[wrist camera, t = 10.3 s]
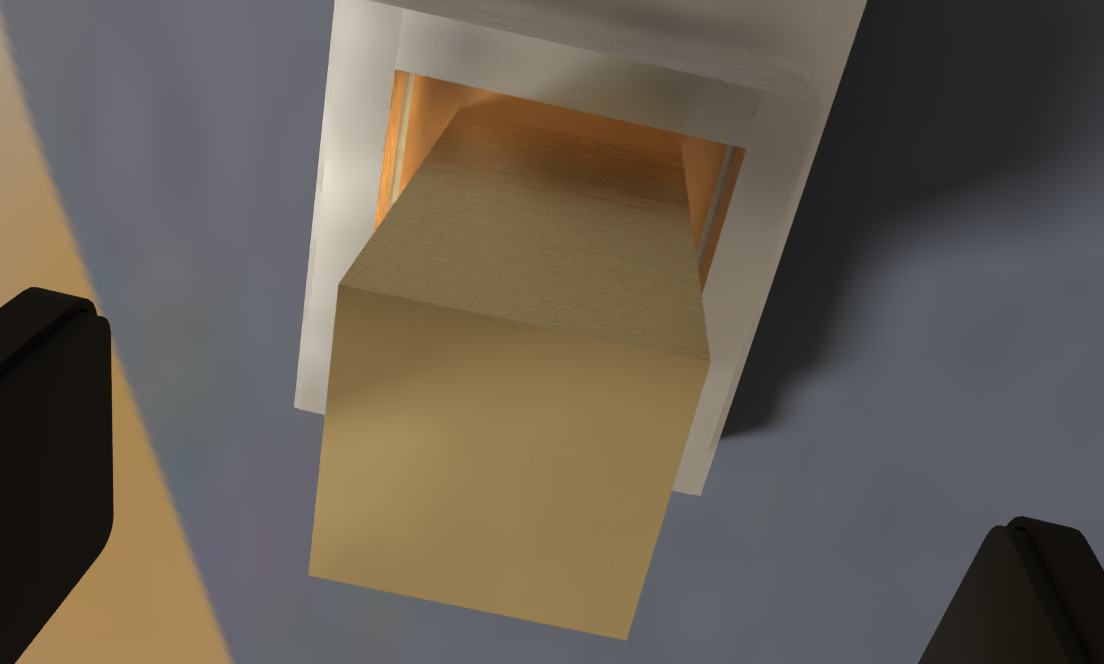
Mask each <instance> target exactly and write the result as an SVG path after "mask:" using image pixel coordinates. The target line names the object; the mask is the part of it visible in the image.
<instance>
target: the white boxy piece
mask: <svg viewBox="0 0 1104 664" xmlns="http://www.w3.org/2000/svg"><path fill="white" fill-rule="evenodd" d="M866 3H867V0H335V5H334V15H333V25H332V35H331V45H330V55H329V65H328V75H327V85H326V95H325V105H324V115H323V125H322V135H321V145H320V155H319V165H318V175H317V185H316V195H315V205H314V215H313V225H312V235H311V245H310V254H309V264H308V274H307V284H306V294H305V304H304V314H303V324H302V334H301V344H300V354H299V364H298V374H297V384H296V394H295V404H294V408H299V409H301V410H306V411H310V412H315V413H319V414H324V415H325V410H326V400H327V390H328V380H329V371H330V361H331V351H332V341H333V332H334V322H335V312H336V302H337V293H338V284H339V283H340V281H341V280H342V278H343V277H344V275H345V274H346V272H347V271H348V269H349V268H350V267H351V265H352V264H353V262H354V261H355V259H356V258H357V256H358V255H359V253H360V252H361V251H362V249H363V248H364V246H365V245H366V243H367V242H368V240H369V239H370V237H371V236H372V235H373V233H374V232H375V230H376V229H377V227H378V226H379V224H380V223H381V221H382V220H383V219H384V217H385V216H386V214H387V213H388V211H389V210H390V208H391V207H392V205H393V204H394V203H395V201H396V200H397V198H398V197H399V195H400V194H401V192H402V191H403V189H404V188H405V187H406V185H407V184H408V182H409V181H410V179H411V178H412V176H413V175H414V173H415V172H416V171H417V169H418V168H419V166H420V165H421V163H422V162H423V160H424V159H425V157H426V156H427V155H428V153H429V152H430V150H431V149H432V147H433V146H434V144H435V143H436V141H437V140H438V139H439V137H440V136H441V134H442V133H443V131H444V130H445V128H446V127H447V125H448V124H449V123H450V121H451V120H452V118H453V117H454V115H455V114H456V112H457V111H458V110H460V111H465V112H469V113H474V114H479V115H483V116H488V117H493V118H498V119H502V120H507V121H512V122H517V123H521V124H526V125H531V126H535V127H540V128H545V129H550V130H554V131H559V132H564V133H568V134H573V135H578V136H583V137H587V138H592V139H597V140H601V141H606V142H611V143H616V144H620V145H625V146H630V147H635V148H639V149H644V150H649V151H653V152H658V153H663V154H668V155H672V156H677V157H682V158H683V164H684V171H685V178H686V185H687V193H688V200H689V207H690V214H691V222H692V229H693V236H694V243H695V251H696V258H697V265H698V272H699V280H700V287H701V294H702V301H703V309H704V316H705V323H706V330H707V338H708V345H709V352H710V359H711V363H710V366H709V370H708V373H707V376H706V380H705V383H704V386H703V390H702V393H701V396H700V399H699V403H698V406H697V409H696V413H695V416H694V419H693V422H692V426H691V429H690V432H689V436H688V439H687V442H686V446H685V449H684V452H683V455H682V459H681V462H680V465H679V469H678V472H677V475H676V479H675V482H674V485H673V488H672V490H673V491H677V492H682V493H687V494H691V495H698V496H701V493H702V490H703V487H704V484H705V481H706V478H707V475H708V472H709V469H710V466H711V463H712V460H713V457H714V454H715V451H716V448H717V445H718V442H719V439H720V436H721V433H722V430H723V427H724V424H725V421H726V418H727V415H728V412H729V409H730V406H731V404H732V401H733V398H734V395H735V392H736V389H737V386H738V383H739V380H740V377H741V374H742V371H743V368H744V365H745V362H746V359H747V356H748V353H749V350H750V347H751V344H752V341H753V338H754V335H755V332H756V329H757V326H758V323H759V320H760V317H761V314H762V311H763V308H764V306H765V303H766V300H767V297H768V294H769V291H770V288H771V285H772V282H773V279H774V276H775V273H776V270H777V267H778V264H779V261H780V258H781V255H782V252H783V249H784V246H785V243H786V240H787V237H788V234H789V231H790V228H791V225H792V222H793V219H794V216H795V213H796V211H797V208H798V205H799V202H800V199H801V196H802V193H803V190H804V187H805V184H806V181H807V178H808V175H809V172H810V169H811V166H812V163H813V160H814V157H815V154H816V151H817V148H818V145H819V142H820V139H821V136H822V133H823V130H824V127H825V124H826V121H827V118H828V115H829V113H830V110H831V107H832V104H833V101H834V98H835V95H836V92H837V89H838V86H839V83H840V80H841V77H842V74H843V71H844V68H845V65H846V62H847V59H848V56H849V53H850V50H851V47H852V44H853V41H854V38H855V35H856V32H857V29H858V26H859V23H860V20H861V17H862V15H863V12H864V9H865V6H866Z"/></svg>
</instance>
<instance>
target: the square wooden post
mask: <svg viewBox="0 0 1104 664" xmlns="http://www.w3.org/2000/svg"><path fill="white" fill-rule="evenodd" d="M710 363H711V359H710V352H709V345H708V338H707V330H706V323H705V316H704V309H703V301H702V294H701V287H700V280H699V272H698V265H697V258H696V251H695V243H694V236H693V229H692V222H691V214H690V207H689V200H688V193H687V185H686V178H685V171H684V164H683V158H682V157H677V156H672V155H668V154H663V153H658V152H653V151H649V150H644V149H639V148H635V147H630V146H625V145H620V144H616V143H611V142H606V141H601V140H597V139H592V138H587V137H583V136H578V135H573V134H568V133H564V132H559V131H554V130H550V129H545V128H540V127H535V126H531V125H526V124H521V123H517V122H512V121H507V120H502V119H498V118H493V117H488V116H483V115H479V114H474V113H469V112H465V111H460V110H458V111H457V112H456V114H455V115H454V117H453V118H452V120H451V121H450V123H449V124H448V125H447V127H446V128H445V130H444V131H443V133H442V134H441V136H440V137H439V139H438V140H437V141H436V143H435V144H434V146H433V147H432V149H431V150H430V152H429V153H428V155H427V156H426V157H425V159H424V160H423V162H422V163H421V165H420V166H419V168H418V169H417V171H416V172H415V173H414V175H413V176H412V178H411V179H410V181H409V182H408V184H407V185H406V187H405V188H404V189H403V191H402V192H401V194H400V195H399V197H398V198H397V200H396V201H395V203H394V204H393V205H392V207H391V208H390V210H389V211H388V213H387V214H386V216H385V217H384V219H383V220H382V221H381V223H380V224H379V226H378V227H377V229H376V230H375V232H374V233H373V235H372V236H371V237H370V239H369V240H368V242H367V243H366V245H365V246H364V248H363V249H362V251H361V252H360V253H359V255H358V256H357V258H356V259H355V261H354V262H353V264H352V265H351V267H350V268H349V269H348V271H347V272H346V274H345V275H344V277H343V278H342V280H341V281H340V283H339V284H338V293H337V302H336V312H335V322H334V332H333V341H332V351H331V361H330V371H329V380H328V390H327V400H326V410H325V419H324V429H323V439H322V449H321V458H320V468H319V478H318V488H317V497H316V507H315V517H314V526H313V536H312V546H311V556H310V565H309V576H314V577H319V578H324V579H329V580H334V581H338V582H343V583H348V584H353V585H358V586H363V587H368V588H373V589H378V590H382V591H387V592H392V593H397V594H402V595H407V596H412V597H417V598H421V599H426V600H431V601H436V602H441V603H446V604H451V605H456V606H461V607H465V608H470V609H475V610H480V611H485V612H490V613H495V614H500V615H505V616H509V617H514V618H519V619H524V620H529V621H534V622H539V623H544V624H548V625H553V626H558V627H563V628H568V629H573V630H578V631H583V632H588V633H592V634H597V635H602V636H607V637H612V638H617V639H622V640H627V637H628V633H629V630H630V627H631V623H632V620H633V617H634V614H635V610H636V607H637V604H638V600H639V597H640V594H641V591H642V587H643V584H644V581H645V577H646V574H647V571H648V567H649V564H650V561H651V558H652V554H653V551H654V548H655V544H656V541H657V538H658V535H659V531H660V528H661V525H662V521H663V518H664V515H665V511H666V508H667V505H668V502H669V498H670V495H671V492H672V488H673V485H674V482H675V479H676V475H677V472H678V469H679V465H680V462H681V459H682V455H683V452H684V449H685V446H686V442H687V439H688V436H689V432H690V429H691V426H692V422H693V419H694V416H695V413H696V409H697V406H698V403H699V399H700V396H701V393H702V390H703V386H704V383H705V380H706V376H707V373H708V370H709V366H710Z"/></svg>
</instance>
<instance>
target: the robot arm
mask: <svg viewBox="0 0 1104 664" xmlns="http://www.w3.org/2000/svg"><path fill="white" fill-rule="evenodd" d="M112 450H113V447H112V379H111V330H110V324H109V322H108V320H107V319H106V318H105V317H102V316H97V312H96V308H95V306H94V304H93V303H92V302H91V301H90V300H89V299H85V298H81V297H77V296H72V295H68V294H64V293H60V292H56V291H50V290H47V289H43V288H38V287H30V288H28V289H26V290H24V291H23V292H21V293H20V294H18V295H17V296H16V297H14V298H13V299H12V300H10V301H9V302H8V303H6V304H5V305H3V306H2V307H1V308H0V664H15V663H16V661H17V660H18V659H19V657H20V656H21V655H22V654H23V652H24V651H25V650H26V648H27V647H28V646H29V645H30V643H31V642H32V641H33V639H34V638H35V637H36V635H37V634H38V633H39V632H40V630H41V629H42V628H43V626H44V625H45V624H46V623H47V621H48V620H49V619H50V617H51V616H52V615H53V614H54V612H55V611H56V610H57V609H58V607H59V606H60V605H61V604H62V602H63V601H64V600H65V598H66V597H67V596H68V595H69V593H70V592H71V590H72V589H73V588H74V587H75V586H76V584H77V583H78V582H79V580H80V579H81V578H82V577H83V575H84V574H85V572H86V571H87V570H88V569H89V567H90V566H91V565H92V564H93V562H94V561H95V560H96V559H97V557H98V556H99V554H100V553H101V552H102V550H103V549H104V547H105V545H106V543H107V541H108V539H109V536H110V533H111V529H112V525H113V514H114V513H113V451H112ZM918 664H1104V570H1103V568H1102V567H1101V565H1100V563H1099V561H1098V560H1097V558H1096V556H1095V554H1094V553H1093V551H1092V549H1091V547H1090V546H1089V544H1088V542H1087V540H1086V539H1085V537H1084V536H1083V535H1082V533H1081V532H1080V531H1079V530H1076V529H1074V528H1071V527H1067V526H1062V525H1058V524H1054V523H1049V522H1045V521H1041V520H1037V519H1032V518H1028V517H1024V516H1020V517H1015V518H1014V519H1013V520H1011V521H1010V522H1009V523H1008V525H1007V526H1006V527H1005V526H1001V525H999V526H995V527H993V528H992V529H991V530H990V531H989V533H988V534H987V536H986V537H985V539H984V541H983V543H982V545H981V547H980V549H979V550H978V552H977V554H976V556H975V558H974V560H973V562H972V564H971V565H970V567H969V569H968V571H967V573H966V575H965V577H964V579H963V580H962V582H961V584H960V586H959V588H958V590H957V592H956V593H955V595H954V597H953V599H952V601H951V603H950V605H949V607H948V608H947V610H946V612H945V614H944V616H943V618H942V620H941V622H940V623H939V625H938V627H937V629H936V631H935V633H934V635H933V637H932V638H931V640H930V642H929V644H928V646H927V648H926V650H925V652H924V653H923V655H922V657H921V659H920V661H919V663H918Z"/></svg>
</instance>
